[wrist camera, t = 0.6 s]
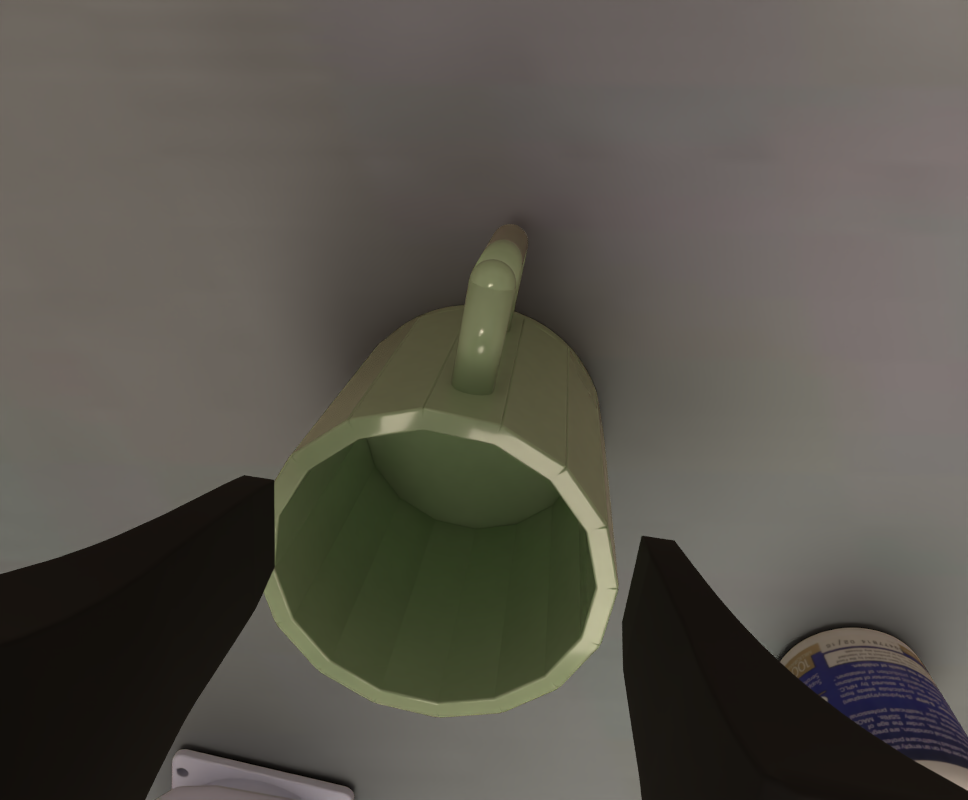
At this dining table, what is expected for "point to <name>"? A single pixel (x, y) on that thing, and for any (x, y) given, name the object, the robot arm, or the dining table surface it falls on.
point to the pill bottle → (884, 695)
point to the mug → (452, 512)
